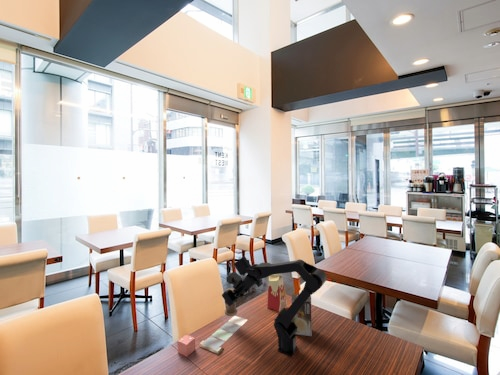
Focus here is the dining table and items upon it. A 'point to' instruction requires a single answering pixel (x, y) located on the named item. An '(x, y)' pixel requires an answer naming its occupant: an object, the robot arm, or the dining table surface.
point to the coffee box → (303, 318)
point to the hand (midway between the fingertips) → (228, 300)
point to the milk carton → (276, 293)
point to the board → (222, 335)
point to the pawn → (231, 307)
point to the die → (186, 345)
